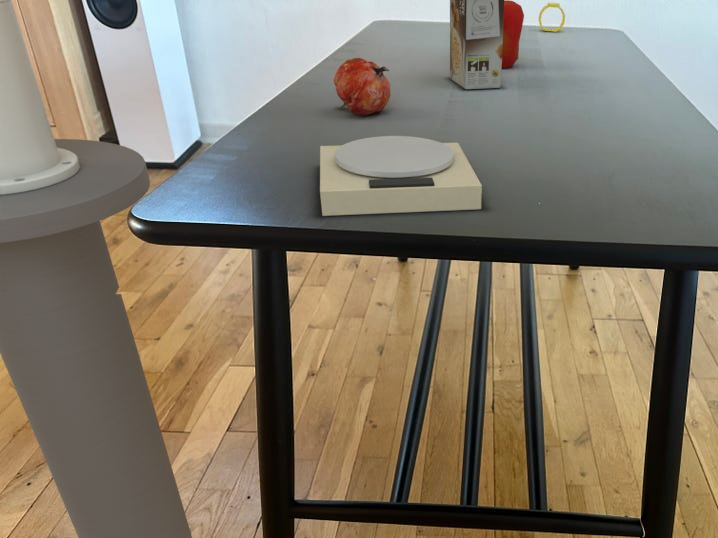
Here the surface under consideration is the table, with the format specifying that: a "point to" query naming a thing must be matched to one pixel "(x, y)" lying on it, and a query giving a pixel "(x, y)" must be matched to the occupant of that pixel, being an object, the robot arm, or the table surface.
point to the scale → (396, 177)
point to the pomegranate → (362, 86)
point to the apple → (511, 32)
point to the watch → (552, 6)
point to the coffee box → (476, 43)
